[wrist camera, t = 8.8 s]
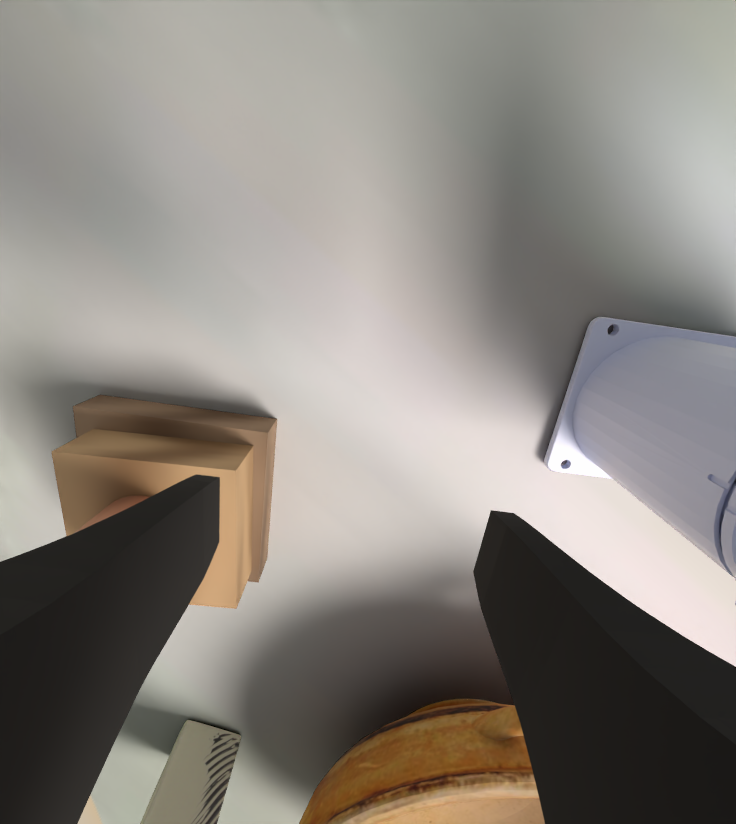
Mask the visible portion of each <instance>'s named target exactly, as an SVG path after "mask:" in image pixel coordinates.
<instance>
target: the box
mask: <svg viewBox="0 0 736 824" xmlns="http://www.w3.org/2000/svg"><path fill="white" fill-rule="evenodd" d="M240 740H241V735H239V734H235V733H232V732H229V731H226V730H222V729H219V728H216V727H213V726H209V725H206V724H203V723H200V722H196V721H191V720H187V721H186V722H185V723H184V725H183V727H182V729H181V731H180V733H179V735H178V737H177V740H176V742H175V744H174V746H173V749H172V751H171V753H170V756H169V758H168V761H167V763H166V765H165V767H164V770H163V772H162V774H161V776H160V779H159V781H158V783H157V786H156V788H155V790H154V793H153V795H152V797H151V799H150V802H149V804H148V806H147V809H146V811H145V814H144V816H143V818H142V821H141V823H140V824H217V821H218V818H219V815H220V811H221V807H222V804H223V801H224V796H225V793H226V790H227V786H228V782H229V779H230V776H231V772H232V769H233V765H234V761H235V758H236V754H237V751H238V747H239V743H240Z"/></svg>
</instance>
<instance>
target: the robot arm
mask: <svg viewBox="0 0 736 824" xmlns="http://www.w3.org/2000/svg"><path fill="white" fill-rule="evenodd" d="M612 324H613V326H614V330H613V331H612V333H610V334H608V332H607V331H608V328H609V326H611V325H612ZM564 460H567V463H566V464H564V465H561V463H562V462H563V461H564ZM544 464H545V466H546V467H547V468H548V469H549V470H551V471H555V472H563V473H571V474H578V475H586V476H594V477H602V478H609V479H614V480H615V481H616V482H617V483H619V484H620V485H621V486H622V487H624V488H625V489H626V490H627V491H628V492H630V493H631V494H632V495H633V496H635V497H636V498H637V499H638V500H640V501H641V502H642V503H643V504H644V505H646V506H647V507H648V508H649V509H651V510H652V511H653V512H654V513H655V514H657V515H658V516H659V517H660V518H662V519H663V520H664V521H665V522H667V523H668V524H669V525H670V526H671V527H673V528H674V529H675V530H676V531H678V532H679V533H680V534H681V535H682V536H684V537H685V538H686V539H687V540H689V541H690V542H691V543H692V544H693V545H695V546H696V547H697V548H698V549H700V550H701V551H702V552H703V553H705V554H706V555H707V556H708V557H709V558H711V559H712V560H713V561H714V562H716V563H717V564H718V565H719V566H720V567H722V568H723V569H724V570H725V571H727V572H728V573H729V574H730V575H732V576H733V577H734V578H735V580H736V337H735V336H728V335H721V334H715V333H708V332H701V331H695V330H688V329H681V328H674V327H668V326H661V325H654V324H648V323H641V322H634V321H627V320H621V319H614V318H607V317H597V318H594V319H593V320H592V321H591V322H590V324H589V326H588V328H587V331H586V334H585V337H584V340H583V343H582V346H581V350H580V353H579V356H578V359H577V362H576V365H575V368H574V371H573V374H572V377H571V380H570V383H569V386H568V389H567V392H566V395H565V398H564V401H563V404H562V407H561V410H560V413H559V416H558V419H557V422H556V425H555V429H554V432H553V435H552V438H551V441H550V444H549V447H548V450H547V453H546V456H545V459H544ZM219 524H220V477H214V476H206V475H198V474H196V475H193V476H191V477H189V478H187V479H185V480H182V481H180V482H178V483H176V484H174V485H172V486H171V487H169V488H167V489H165V490H163V491H161V492H159V493H157V494H155V495H153V496H151V497H149V498H147V499H145V500H143V501H141V502H139V503H137V504H135V505H133V506H131V507H129V508H127V509H125V510H123V511H121V512H119V513H117V514H115V515H113V516H110V517H108V518H106V519H104V520H102V521H100V522H97V523H95V524H93V525H91V526H89V527H87V528H84V529H82V530H80V531H78V532H76V533H73V534H71V535H69V536H66V537H64V538H62V539H59V540H57V541H54V542H52V543H49V544H47V545H44V546H42V547H39V548H36V549H34V550H31V551H28V552H26V553H23V554H21V555H18V556H15V557H13V558H10V559H7V560H4V561H2V562H0V824H77V823H78V821H79V819H80V816H81V814H82V812H83V809H84V807H85V805H86V803H87V800H88V798H89V796H90V794H91V792H92V790H93V788H94V785H95V783H96V781H97V779H98V777H99V774H100V772H101V770H102V768H103V766H104V764H105V761H106V759H107V757H108V755H109V753H110V751H111V748H112V746H113V744H114V742H115V740H116V738H117V736H118V733H119V731H120V729H121V727H122V725H123V723H124V721H125V719H126V717H127V715H128V713H129V711H130V708H131V706H132V704H133V702H134V700H135V698H136V696H137V694H138V692H139V690H140V688H141V686H142V684H143V682H144V680H145V679H146V677H147V675H148V673H149V671H150V669H151V668H152V666H153V664H154V662H155V661H156V659H157V657H158V656H159V654H160V652H161V650H162V649H163V647H164V645H165V644H166V642H167V640H168V639H169V637H170V635H171V634H172V632H173V630H174V628H175V627H176V625H177V623H178V622H179V620H180V618H181V617H182V615H183V613H184V612H185V610H186V608H187V607H188V605H189V603H190V601H191V600H192V598H193V596H194V594H195V593H196V591H197V589H198V588H199V586H200V584H201V582H202V581H203V579H204V577H205V575H206V572H207V570H208V568H209V566H210V563H211V561H212V559H213V556H214V554H215V551H216V549H217V547H218V544H219ZM473 572H474V577H475V582H476V587H477V592H478V597H479V601H480V606H481V610H482V613H483V616H484V619H485V622H486V625H487V628H488V631H489V633H490V636H491V639H492V642H493V645H494V648H495V651H496V654H497V656H498V659H499V662H500V665H501V668H502V671H503V673H504V676H505V679H506V682H507V685H508V688H509V690H510V693H511V696H512V699H513V702H514V705H515V708H516V711H517V715H518V718H519V721H520V724H521V728H522V732H523V736H524V739H525V743H526V747H527V751H528V755H529V759H530V763H531V767H532V771H533V775H534V778H535V783H536V787H537V791H538V795H539V800H540V804H541V808H542V812H543V817H544V821H545V824H736V667H735V666H733V665H731V664H730V663H728V662H726V661H724V660H723V659H721V658H719V657H717V656H716V655H714V654H712V653H710V652H709V651H707V650H705V649H704V648H702V647H700V646H699V645H697V644H695V643H694V642H692V641H690V640H689V639H687V638H685V637H684V636H682V635H680V634H679V633H677V632H676V631H674V630H673V629H671V628H670V627H668V626H666V625H665V624H663V623H662V622H660V621H659V620H657V619H656V618H654V617H652V616H651V615H649V614H648V613H646V612H645V611H643V610H642V609H640V608H639V607H637V606H636V605H634V604H633V603H632V602H630V601H629V600H627V599H626V598H624V597H623V596H622V595H620V594H619V593H618V592H616V591H615V590H613V589H612V588H611V587H609V586H608V585H606V584H605V583H604V582H602V581H601V580H600V579H598V578H597V577H596V576H594V575H593V574H592V573H590V572H589V571H588V570H586V569H585V568H584V567H583V566H581V565H580V564H579V563H577V562H576V561H575V560H574V559H572V558H571V557H570V556H568V555H567V554H566V553H565V552H563V551H562V550H561V549H560V548H558V547H557V546H556V545H555V544H553V543H552V542H551V541H550V540H548V539H547V538H546V537H545V536H543V535H542V534H541V533H540V532H538V531H537V530H536V529H535V528H533V527H532V526H531V525H529V524H528V523H527V522H525V521H524V520H523V519H521V518H520V517H518V516H517V515H515V514H514V513H508V512H500V511H491V512H490V516H489V519H488V523H487V526H486V530H485V533H484V537H483V540H482V544H481V547H480V551H479V554H478V557H477V561H476V564H475V568H474V571H473ZM735 605H736V603H735Z"/></svg>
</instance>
